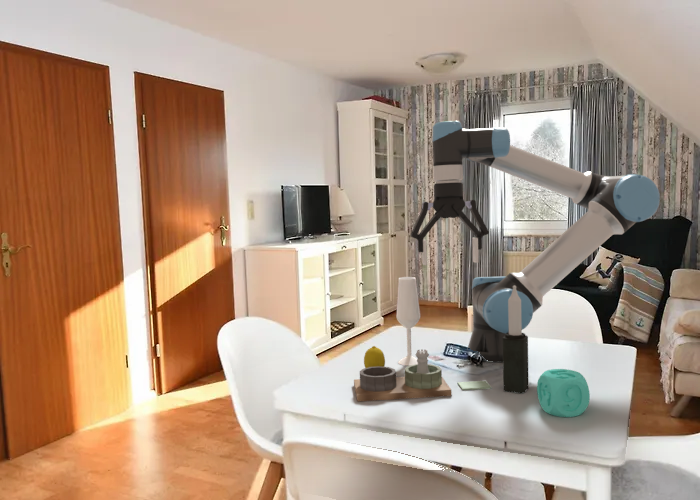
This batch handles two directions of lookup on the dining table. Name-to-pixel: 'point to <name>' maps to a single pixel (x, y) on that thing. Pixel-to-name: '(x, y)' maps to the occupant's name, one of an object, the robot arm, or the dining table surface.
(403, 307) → the champagne flute
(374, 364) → the lemon
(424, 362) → the rook chess piece
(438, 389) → the double bowl stand
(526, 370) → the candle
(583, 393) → the decorative dice
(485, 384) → the card
